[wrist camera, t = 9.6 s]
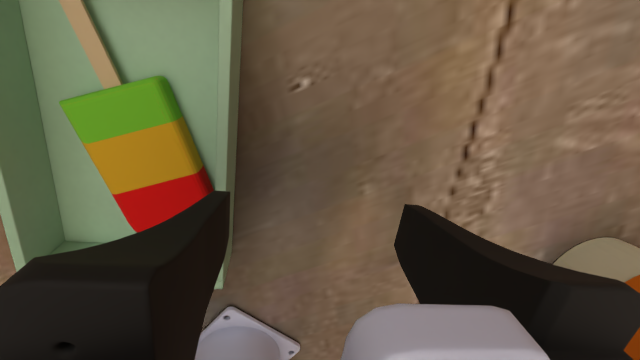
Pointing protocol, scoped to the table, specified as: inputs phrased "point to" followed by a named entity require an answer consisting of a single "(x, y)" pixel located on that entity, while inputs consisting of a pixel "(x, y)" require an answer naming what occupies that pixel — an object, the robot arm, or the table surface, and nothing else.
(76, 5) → the popsicle
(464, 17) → the table surface
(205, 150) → the tote
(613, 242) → the reusable coffee cup
